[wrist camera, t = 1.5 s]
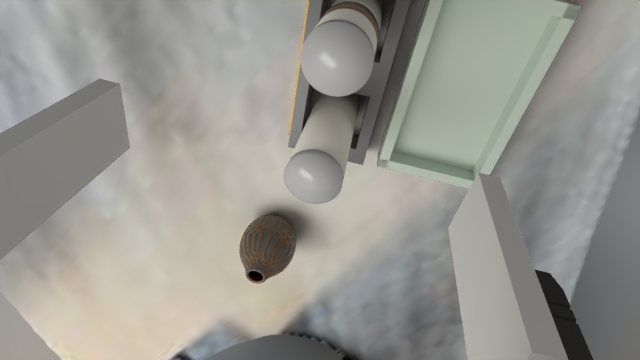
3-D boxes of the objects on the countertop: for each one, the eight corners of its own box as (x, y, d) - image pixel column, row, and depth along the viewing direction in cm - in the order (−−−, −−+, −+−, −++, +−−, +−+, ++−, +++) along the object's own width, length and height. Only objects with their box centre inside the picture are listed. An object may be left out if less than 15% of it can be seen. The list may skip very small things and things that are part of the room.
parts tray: (435, -30, 30) (438, -26, 28) (569, 0, 30) (582, 6, 28) (378, 153, 41) (376, 166, 39) (476, 177, 41) (480, 191, 39)
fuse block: (316, -56, 31) (309, -54, 28) (417, -33, 31) (419, -29, 28) (289, 132, 42) (282, 145, 39) (364, 150, 41) (362, 164, 39)
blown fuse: (338, -20, 32) (305, 13, 21) (389, -8, 32) (383, 31, 21) (328, 33, 35) (294, 88, 24) (375, 44, 35) (363, 104, 24)
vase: (306, 243, 51) (291, 296, 44) (260, 246, 53) (239, 296, 46) (292, 204, 48) (273, 254, 41) (244, 208, 50) (217, 256, 42)
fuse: (320, 80, 38) (287, 148, 26) (363, 90, 37) (347, 163, 26) (313, 118, 40) (280, 195, 29) (353, 128, 40) (335, 209, 29)
